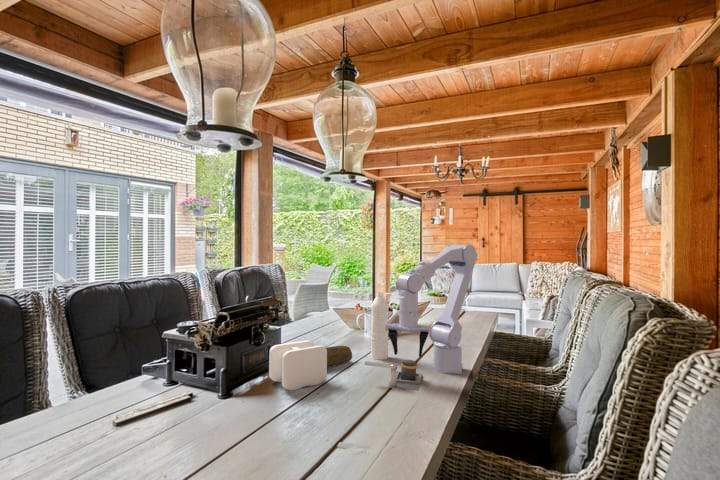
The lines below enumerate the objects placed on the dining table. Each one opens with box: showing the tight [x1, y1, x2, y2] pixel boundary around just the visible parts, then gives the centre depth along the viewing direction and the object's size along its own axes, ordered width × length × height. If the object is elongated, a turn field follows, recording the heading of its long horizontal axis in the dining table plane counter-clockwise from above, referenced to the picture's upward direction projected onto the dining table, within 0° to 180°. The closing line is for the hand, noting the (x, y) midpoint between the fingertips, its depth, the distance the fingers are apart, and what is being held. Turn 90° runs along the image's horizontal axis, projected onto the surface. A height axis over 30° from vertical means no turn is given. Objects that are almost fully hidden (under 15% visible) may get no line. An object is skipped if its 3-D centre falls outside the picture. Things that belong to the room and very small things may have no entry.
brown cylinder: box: [325, 345, 353, 368], centre depth 132 cm, size 15×7×7 cm, turn 132°
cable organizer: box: [268, 339, 328, 392], centre depth 116 cm, size 15×11×12 cm
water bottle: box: [370, 291, 392, 361], centre depth 139 cm, size 9×6×25 cm
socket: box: [387, 368, 423, 391], centre depth 116 cm, size 9×14×6 cm, turn 166°
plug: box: [400, 359, 418, 381], centre depth 117 cm, size 5×5×5 cm
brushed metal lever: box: [364, 360, 398, 370], centre depth 113 cm, size 10×2×1 cm, turn 71°
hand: (408, 354), depth 118 cm, fingers open, 7 cm apart
